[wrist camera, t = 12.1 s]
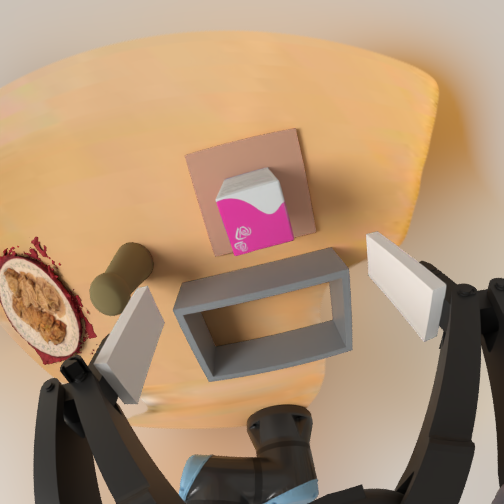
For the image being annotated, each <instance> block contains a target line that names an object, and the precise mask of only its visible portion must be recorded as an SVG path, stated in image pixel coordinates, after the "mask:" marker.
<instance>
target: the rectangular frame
mask: <svg viewBox="0 0 504 504" xmlns="http://www.w3.org/2000/svg"><path fill="white" fill-rule="evenodd" d="M326 282H329V286H330V295H331V305H332V315H333V320H330V321H327V322H324V323H320V324H316V325H312V326H308V327H304V328H300V329H296V330H292V331H288V332H284V333H280V334H275V335H271V336H267V337H262V338H257V339H253V340H248V341H243V342H238V343H233V344H227V345H222V346H215V344H214V342H213V339H212V337H211V335H210V332H209V330H208V328H207V325H206V323H205V321H204V318H203V316H202V313H201V311H206V310H211V309H216V308H221V307H225V306H230V305H235V304H239V303H244V302H248V301H252V300H257V299H261V298H265V297H270V296H274V295H278V294H282V293H286V292H290V291H294V290H298V289H302V288H306V287H310V286H314V285H318V284H322V283H326ZM173 312H174V314H175V316H176V318H177V320H178V322H179V325H180V327H181V329H182V331H183V333H184V335H185V337H186V339H187V341H188V343H189V345H190V347H191V349H192V351H193V353H194V355H195V357H196V358H197V360H198V362H199V364H200V366H201V368H202V370H203V372H204V373H205V375H206V377H207V379H208V381H209V382H212V381H219V380H225V379H232V378H238V377H244V376H249V375H255V374H260V373H265V372H270V371H275V370H279V369H284V368H288V367H292V366H297V365H301V364H305V363H309V362H313V361H316V360H320V359H324V358H327V357H331V356H334V355H337V354H341V353H344V352H348V351H351V350H352V312H351V291H350V276H349V268H348V267H347V266H346V265H345V263H344V262H343V261H342V260H341V258H340V257H339V256H338V255H337V253H336V252H335V251H334V250H333V249H332V247H330V248H326V249H322V250H318V251H314V252H310V253H306V254H302V255H298V256H294V257H290V258H286V259H282V260H278V261H274V262H269V263H265V264H261V265H257V266H253V267H249V268H244V269H240V270H236V271H232V272H227V273H223V274H219V275H215V276H210V277H206V278H202V279H197V280H193V281H189V282H184V283H182V285H181V288H180V291H179V294H178V296H177V299H176V302H175V305H174V308H173Z"/></svg>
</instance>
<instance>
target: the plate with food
mask: <svg viewBox="0 0 504 504" xmlns="http://www.w3.org/2000/svg"><path fill="white" fill-rule="evenodd" d="M31 243H33V244H34V246H35V247H36V249H37V251H38V250H39V253H41V254H42V256H43V257H47V258H49V259H51V258H50V257H48V256H47V254H46V251H47V250H46V248H47V247H46V246H44V251H42V250H41V249H40V247H39V243H40V242H38V237H35V238H34V240H32V241H31ZM17 247H19V246H17ZM30 248H31V247H30ZM7 249H8V248H7ZM7 249H5V250H4V251H3V253H4V256H3V257H1V256H0V303H1V305H2V307H3V308H4V311H5V314H6V316H7V318H8V320H9V321H10V323H11V324H12V327H14V329H15V330H16V331H17V332H18V333H19V334H20V336H21V337H22V338H23V339H25V340H26V341H27V342H28V344H29V345H31V346H32V347H33V348H34V349H35V350H36V352H37V353H38V354H39V356H40V357H41V359H42V361H43V364H45V365H46V364H50V363H51V364H52V363H54V362H58V361H59V362H61V361H62V360H66V359H68V358H69V357H71V356H73V354H74V353H82V352H79V350H80V348H82V347H81V346H80V347H79V345H80V344H82V342H80V338H81V337H82V336H81V335H82V328H83V327H82V324H81V318H82V319H83V317H84V315H83V313H82V311H81V308H80V310H78V309H79V307H80V306H81V307H83V306H82V303H81V300H80V298H79V296H78V295H76V296H75V297H76V298H74V297H73V296H74V295H73V294H72V292H71V291H70V292H71V294H72V295H73V296H72V295H70V294H69V292H68V291H67V290H66V289H65V287H64V286H63V285H62V283H61V282H60V281H59V280H58V279H57V278H58V276H57V275H54V273H53V272H52V271H54V269H53V268H52V269H51V268H50V265H49V266H48V267H47V265H44V264H43V262H38V261H37V259H38V260H39V261H41V260H40V258H38V254H36V253H37V251H34V249H30V250H29V251H30V252H31V253H32V254H31V255H30V254H28V253H25V252H24V254H25V255H26V254H27V255H28V256H29V257H31V258H29V257H26V258H24V257H20V256H16V255H17V253H15V251H13V252H12V249H13V250H14V249H15V248H14V247H12V248H11V249H10V250H9V253H8V255H6V252H7ZM11 252H12V253H13V254H11V255H9V254H10V253H11ZM5 255H6V256H5ZM21 255H23V254H21ZM32 258H34V259H36V260H34V259H32ZM54 263H55V261H53V260H52V264H54ZM54 265H55V264H54ZM59 265H61V264H60V263H59ZM55 266H56V265H55ZM56 268H57V266H56ZM57 269H58V268H57ZM73 291H74V289H73ZM72 298H73V299H74V300H72ZM75 299H76V300H77V301H78V302H77V301H76V300H75ZM75 301H76V302H75ZM77 304H79V305H78V306H76V305H77ZM87 313H88V311H87ZM84 318H85V319H84V321H85V326H86V330H87V331H86V330H85V334H86V333H88V335H89V336H88V337H87V339H88V338H89V339H91V338H95V337H97V336H96V334H95V333H94V331H93V326H92V324H90V323H89V322H88V320H87V319H86V317H84ZM86 336H87V335H86ZM83 338H84V339H83V342H84V341H86V337H83ZM83 344H84V343H83ZM96 345H97V344H96ZM93 351H94V349H93ZM92 354H93V353H92Z"/></svg>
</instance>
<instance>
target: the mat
mask: <svg viewBox="0 0 504 504" xmlns="http://www.w3.org/2000/svg"><path fill="white" fill-rule="evenodd" d="M185 158H186V162H187V165H188V169H189V172H190V176H191V179H192V183H193V186H194V190H195V193H196V196H197V200H198V203H199V207H200V210H201V213H202V216H203V220H204V223H205V226H206V229H207V233H208V236H209V239H210V242H211V245H212V249H213V252H214V255H215V257H216V256H220V255H224V254H228V253H232V252H233V250H232V247H231V244H230V241H229V238H228V235H227V232H226V229H225V227H224V224H223V221H222V218H221V215H220V212H219V209H218V206H217V203H216V198H217V195H218V193H219V191H220V189H221V186H222V184H223V182H224V180H225V179H227V178H230V177H234V176H237V175H240V174H244V173H247V172H251V171H254V170H258V169H262V168H266V167H268V168H269V170H270V171H271V172H272V173H273V174H274V175H275V177H276V178H277V179H278V180H279V182H280V185H281V189H282V193H283V196H284V200H285V203H286V207H287V211H288V214H289V218H290V222H291V226H292V231H293V235H294V237H298V236H303V235H307V234H311V233H315V232H316V228H315V222H314V216H313V210H312V205H311V199H310V194H309V189H308V184H307V179H306V174H305V169H304V164H303V159H302V155H301V150H300V145H299V141H298V137H297V132H296V128H294V129H288V130H283V131H278V132H273V133H268V134H264V135H259V136H255V137H250V138H246V139H242V140H238V141H234V142H230V143H226V144H222V145H219V146H215V147H211V148H208V149H204V150H201V151H197V152H194V153H191V154H187V155H185Z"/></svg>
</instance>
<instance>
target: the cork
mask: <svg viewBox="0 0 504 504" xmlns="http://www.w3.org/2000/svg"><path fill="white" fill-rule="evenodd" d="M152 270H153V259H152V256H151V254H150V253H149V251H148V250H147V249H146V248H145V247H144V246H142V245H140V244H138V243H133V242H132V243H126V244H124V245H122V246H121V247H120V248H119V250H118V251H117V253H116V255H115V256H114V258H113V260H112V261H111V263H110V265H109V266H108V268H107V270H106V272H105V273H103V274H101V275H99V276H97V277H96V278H95V279H94V281H93V282H92V284H91V287H90V299H91V301H92V304H93V305H94V306H95V308H96V309H97V310H98V311H99V312H101V313H103V314H105V315H109V316H115V315H118V314H121V313H122V312H123V311H124V309H125V307H126V306H127V304H128V302H129V301H130V294H131V293H132V292H133V291H134V290H135V289H136V288H137V287H138V286H139V285H140V284H141V283H142V282H143V281H144V280H145V279H146V278H147V277H148V276H149V275H150V274H151V272H152Z"/></svg>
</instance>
